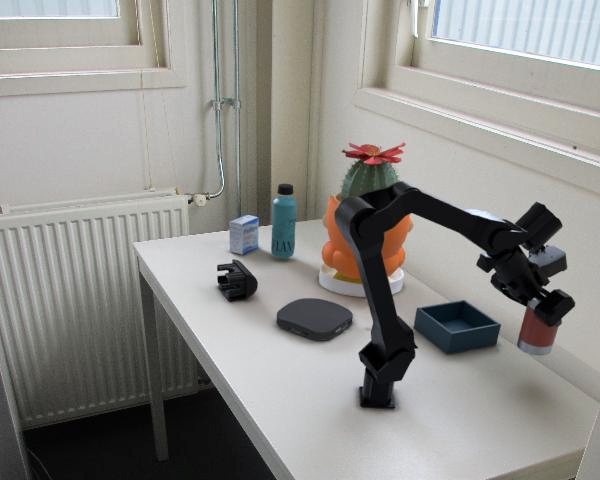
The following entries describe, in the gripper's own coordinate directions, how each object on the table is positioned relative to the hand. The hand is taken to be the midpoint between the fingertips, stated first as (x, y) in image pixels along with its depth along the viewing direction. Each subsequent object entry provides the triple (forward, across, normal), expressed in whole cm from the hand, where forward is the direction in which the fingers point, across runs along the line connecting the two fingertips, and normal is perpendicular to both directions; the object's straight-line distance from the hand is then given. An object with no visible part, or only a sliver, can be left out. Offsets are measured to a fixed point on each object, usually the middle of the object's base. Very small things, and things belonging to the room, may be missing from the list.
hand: (548, 317), depth 131 cm
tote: (+5, +19, +14) cm, 25 cm away
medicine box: (-18, +80, +38) cm, 90 cm away
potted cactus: (-2, +49, +22) cm, 53 cm away
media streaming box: (-16, +32, +35) cm, 50 cm away
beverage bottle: (-12, +71, +32) cm, 79 cm away
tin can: (+4, 0, +6) cm, 7 cm away
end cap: (-24, +52, +44) cm, 73 cm away
